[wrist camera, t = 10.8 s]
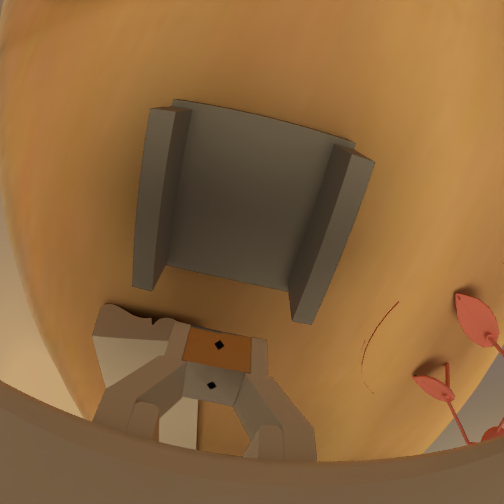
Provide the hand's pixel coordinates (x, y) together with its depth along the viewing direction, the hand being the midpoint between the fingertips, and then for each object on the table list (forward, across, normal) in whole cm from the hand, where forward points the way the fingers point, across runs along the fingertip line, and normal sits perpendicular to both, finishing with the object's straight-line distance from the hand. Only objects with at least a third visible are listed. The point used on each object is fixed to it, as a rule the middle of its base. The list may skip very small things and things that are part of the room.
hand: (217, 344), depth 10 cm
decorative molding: (+15, 0, +30) cm, 33 cm away
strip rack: (+15, 0, 0) cm, 15 cm away
